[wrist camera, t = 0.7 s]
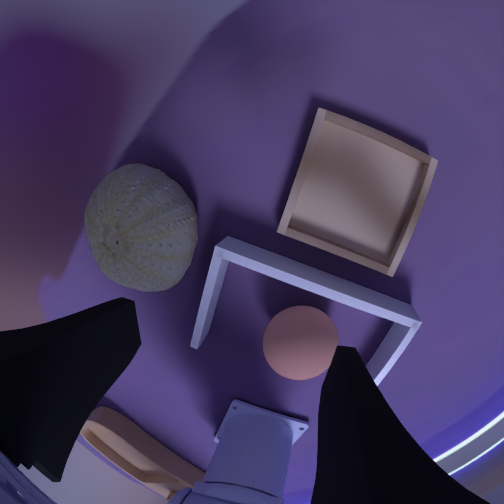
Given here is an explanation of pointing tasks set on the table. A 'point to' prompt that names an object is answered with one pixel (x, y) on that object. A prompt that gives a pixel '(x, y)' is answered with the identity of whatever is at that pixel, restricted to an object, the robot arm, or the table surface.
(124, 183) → the sea urchin shell
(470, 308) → the table surface
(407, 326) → the white u-shaped arch
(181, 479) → the lamp
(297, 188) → the tray
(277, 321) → the ball
